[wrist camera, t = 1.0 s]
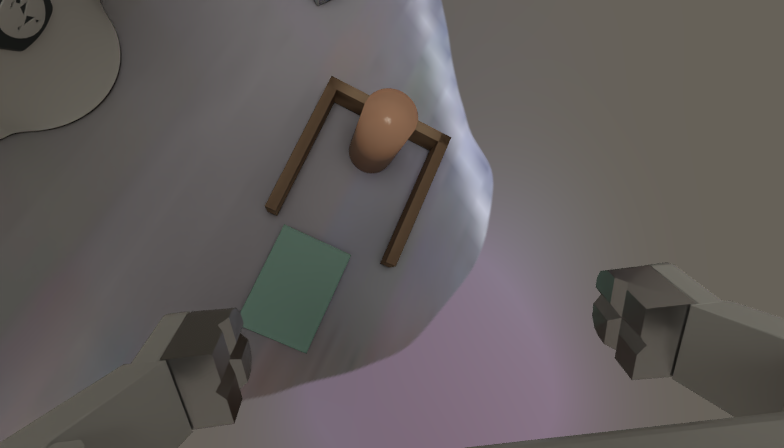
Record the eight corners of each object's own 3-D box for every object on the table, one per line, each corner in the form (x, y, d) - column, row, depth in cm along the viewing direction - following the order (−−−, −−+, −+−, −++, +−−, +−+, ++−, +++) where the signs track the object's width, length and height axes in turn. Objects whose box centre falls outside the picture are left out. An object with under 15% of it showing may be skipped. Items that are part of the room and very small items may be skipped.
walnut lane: (267, 211, 42) (264, 205, 39) (329, 89, 45) (331, 75, 42) (389, 267, 43) (395, 266, 40) (441, 146, 46) (451, 137, 43)
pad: (235, 323, 40) (234, 323, 39) (284, 224, 42) (284, 224, 41) (306, 352, 41) (306, 353, 40) (350, 255, 43) (351, 255, 42)
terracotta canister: (341, 161, 44) (353, 126, 34) (360, 123, 45) (376, 78, 35) (381, 180, 44) (404, 151, 35) (399, 142, 45) (426, 104, 36)
